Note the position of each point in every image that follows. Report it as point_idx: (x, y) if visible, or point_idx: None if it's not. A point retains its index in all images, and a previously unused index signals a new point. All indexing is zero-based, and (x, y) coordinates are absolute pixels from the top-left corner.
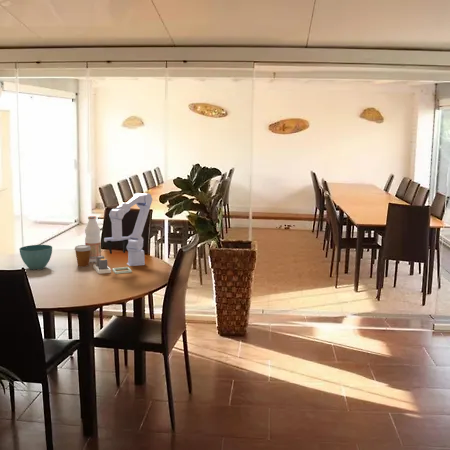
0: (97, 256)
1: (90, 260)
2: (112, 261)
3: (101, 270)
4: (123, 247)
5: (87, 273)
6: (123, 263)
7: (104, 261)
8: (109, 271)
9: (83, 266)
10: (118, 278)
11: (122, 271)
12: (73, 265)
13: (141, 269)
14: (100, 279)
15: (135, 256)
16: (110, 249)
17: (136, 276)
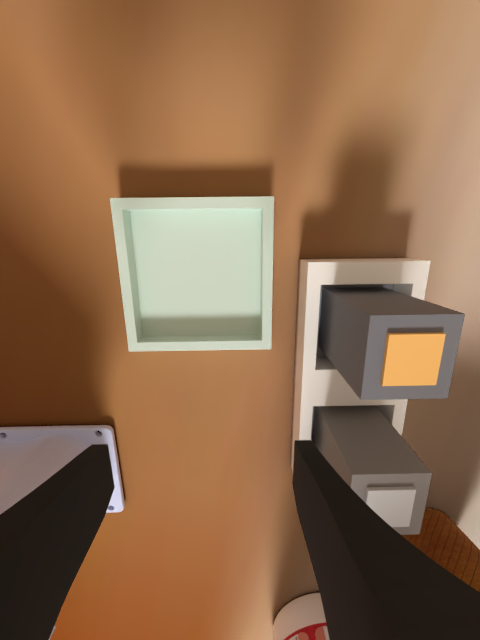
0: (410, 524)
1: None
2: (208, 589)
3: (397, 260)
4: (65, 558)
5: (468, 330)
6: (145, 525)
7: (398, 311)
8: (316, 260)
9: (432, 512)
10: (280, 20)
11: (205, 197)
12: None
13: (23, 308)
14: (451, 53)
15: (5, 494)
16: (342, 490)
17: (90, 35)
